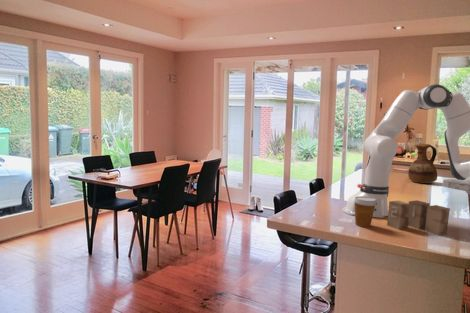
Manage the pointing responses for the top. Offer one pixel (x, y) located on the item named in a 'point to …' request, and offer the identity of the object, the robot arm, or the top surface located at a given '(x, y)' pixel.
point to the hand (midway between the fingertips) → (457, 187)
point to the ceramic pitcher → (423, 166)
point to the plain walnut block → (437, 220)
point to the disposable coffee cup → (364, 210)
